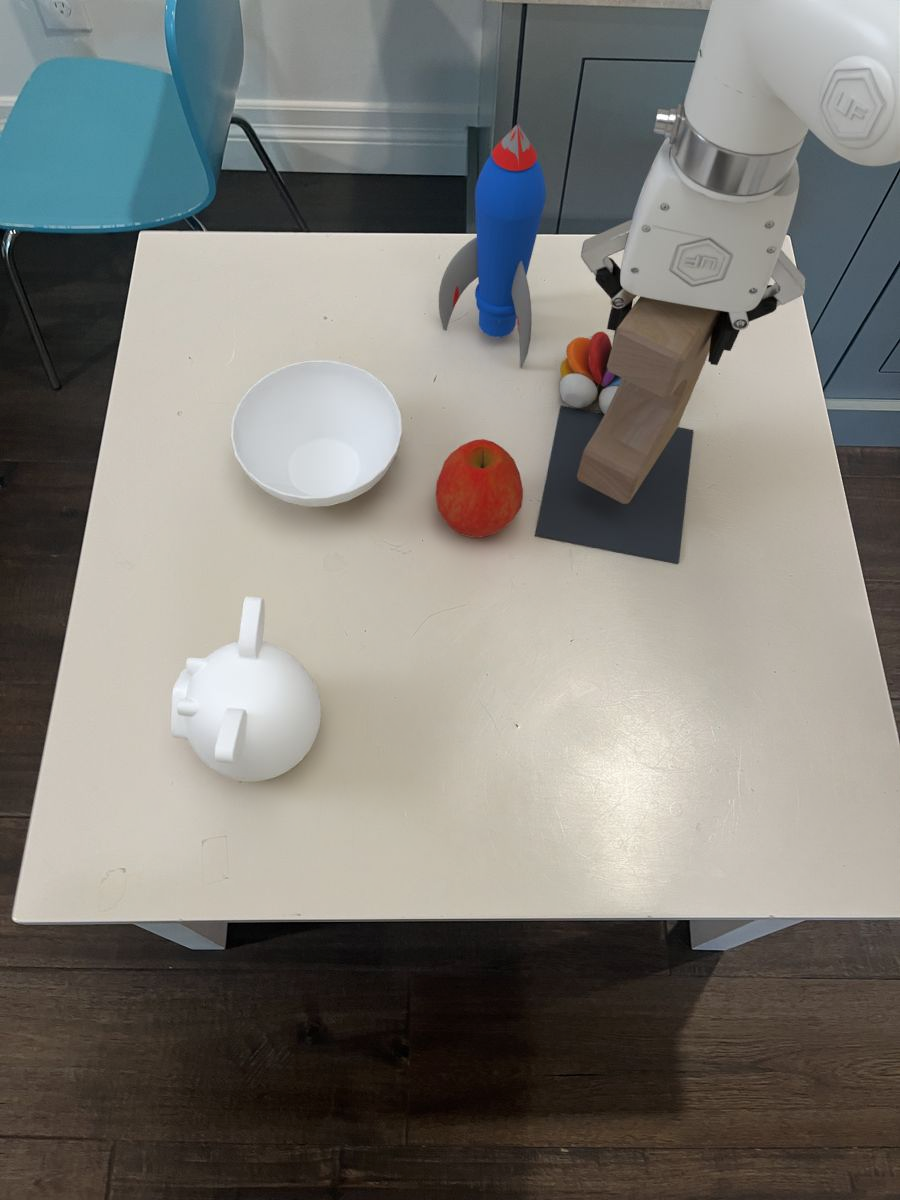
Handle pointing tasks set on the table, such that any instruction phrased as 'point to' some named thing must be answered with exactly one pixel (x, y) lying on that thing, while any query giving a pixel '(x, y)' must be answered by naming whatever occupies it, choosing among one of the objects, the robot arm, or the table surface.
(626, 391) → the decorative block
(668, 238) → the robot arm
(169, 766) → the table surface
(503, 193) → the toy rocket
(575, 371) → the rainbow petal flower
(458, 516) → the apple
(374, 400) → the bowl
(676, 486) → the mat
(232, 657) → the piggy bank
